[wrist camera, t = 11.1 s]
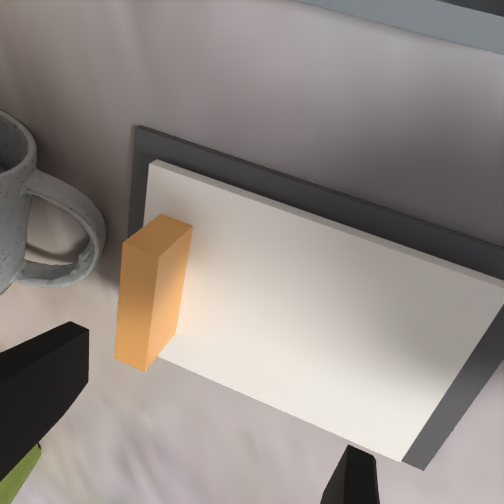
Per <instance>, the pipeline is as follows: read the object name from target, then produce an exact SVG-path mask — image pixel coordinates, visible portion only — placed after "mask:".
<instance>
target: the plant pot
mask: <svg viewBox="0 0 504 504" xmlns="http://www.w3.org/2000/svg"><path fill="white" fill-rule="evenodd" d="M40 456H41V449H40V448H38V443H37V444H36V445H35V446H34V447H33V448H32V449H31V450H30V451H29V452H28V454H27V455H26V456H25V457H24V458H23V459H22V460H21V461H20V462H19V463H18V464H17V465H16V466H15V467H14V468H13V469H12V470H11V471H10V472H9V474H8V475H7V476H6V477H5V478H4V479H3V480H2V481H1V482H0V504H11V502H12V501H13V499H14V497H15V496H16V494H17V493H18V491H19V490H20V488H21V487H22V485H23V483H24V482H25V480H26V479H27V477H28V476H29V474H30V472H31V471H32V469H33V467H34V466H35V464H36V463H37V461H38V459H39V458H40Z"/></svg>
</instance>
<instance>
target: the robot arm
mask: <svg viewBox="0 0 504 504" xmlns="http://www.w3.org/2000/svg"><path fill="white" fill-rule="evenodd" d="M88 373H89V329H87V328H85V327H82V326H80V325H78V324H76V323H73V322H71V321H69V322H67V323H65V324H62V325H60V326H58V327H56V328H54V329H51V330H49V331H47V332H45V333H43V334H41V335H38V336H36V337H34V338H32V339H30V340H28V341H25V342H23V343H21V344H19V345H17V346H15V347H12V348H10V349H8V350H6V351H3V352H1V353H0V482H1V481H2V480H3V479H4V478H5V477H6V476H7V475H8V474H9V472H10V471H11V470H12V469H13V468H14V467H15V466H16V465H17V464H18V463H19V462H20V461H21V460H22V459H23V458H24V457H25V456H26V455H27V454H28V452H29V451H30V450H31V449H32V448H33V447H34V446H35V445H36V444H37V443H38V442H39V441H40V440H41V439H42V438H43V437H44V436H45V434H46V433H47V432H48V431H49V430H50V429H51V428H52V427H53V426H54V425H55V424H56V423H57V422H58V421H59V419H60V418H61V417H62V416H63V415H64V414H65V413H66V411H67V410H68V409H69V407H70V406H71V405H72V403H73V402H74V401H75V400H76V398H77V397H78V395H79V394H80V393H81V391H82V390H83V388H84V387H85V386H86V384H87V383H88ZM320 504H380V501H379V492H378V483H377V470H376V460H375V458H374V456H373V455H371V454H369V453H366V452H364V451H362V450H360V449H357V448H355V447H353V446H351V445H348V446H347V448H346V450H345V452H344V454H343V455H342V457H341V459H340V461H339V463H338V465H337V467H336V469H335V471H334V473H333V475H332V477H331V479H330V481H329V483H328V484H327V486H326V488H325V490H324V492H323V496H322V499H321V503H320Z"/></svg>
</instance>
